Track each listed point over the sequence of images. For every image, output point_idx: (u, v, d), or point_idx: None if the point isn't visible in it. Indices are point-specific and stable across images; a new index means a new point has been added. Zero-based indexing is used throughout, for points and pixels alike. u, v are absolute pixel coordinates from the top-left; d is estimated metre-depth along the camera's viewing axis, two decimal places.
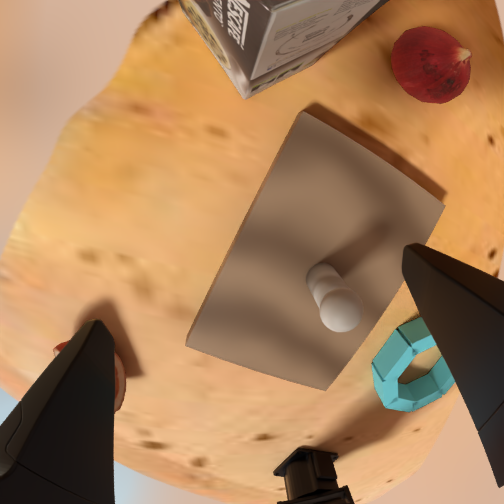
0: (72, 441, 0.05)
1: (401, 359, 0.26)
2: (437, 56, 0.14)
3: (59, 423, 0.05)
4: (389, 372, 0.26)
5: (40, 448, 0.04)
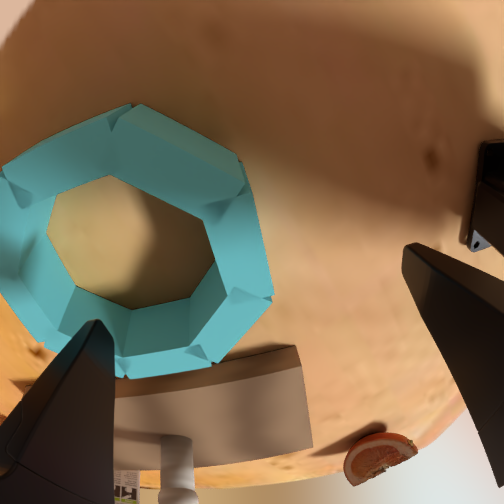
0: (72, 441, 0.05)
1: (156, 371, 0.13)
2: None
3: (59, 423, 0.05)
4: (190, 369, 0.13)
5: (40, 448, 0.04)
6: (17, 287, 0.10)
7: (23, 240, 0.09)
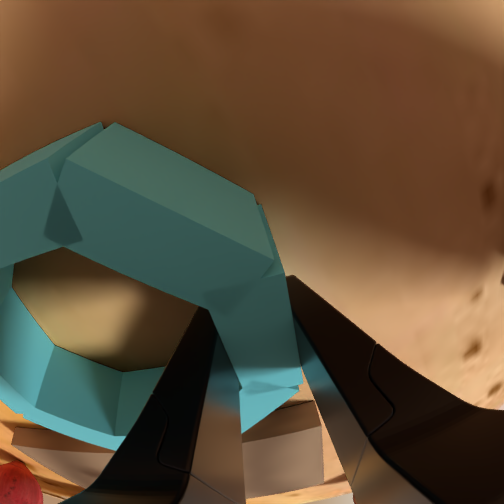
0: (222, 433, 0.05)
1: None
2: None
3: (213, 413, 0.05)
4: None
5: (202, 448, 0.04)
6: None
7: None
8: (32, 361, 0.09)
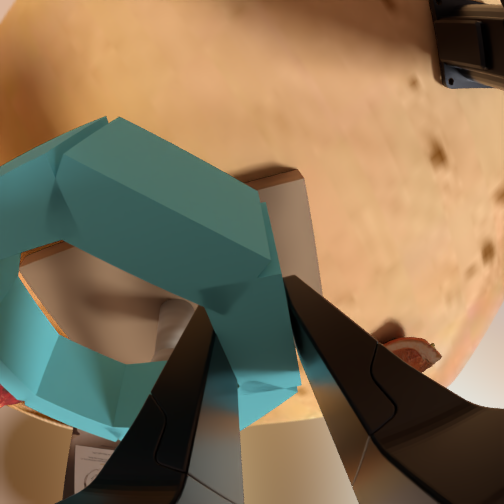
0: (220, 433, 0.05)
1: None
2: (13, 403, 0.19)
3: (211, 413, 0.05)
4: None
5: (200, 448, 0.04)
6: None
7: None
8: (35, 350, 0.09)
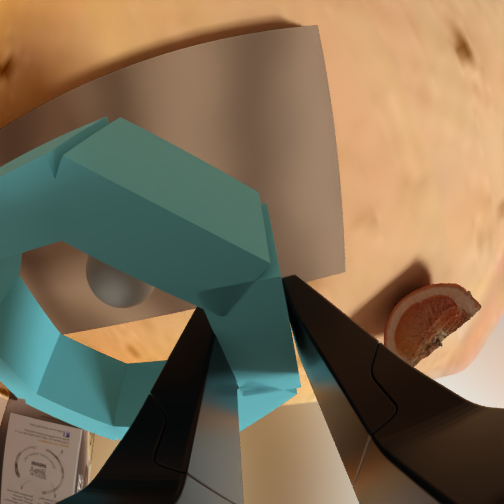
0: (219, 433, 0.05)
1: None
2: None
3: (210, 413, 0.05)
4: None
5: (199, 448, 0.04)
6: None
7: None
8: (36, 348, 0.09)
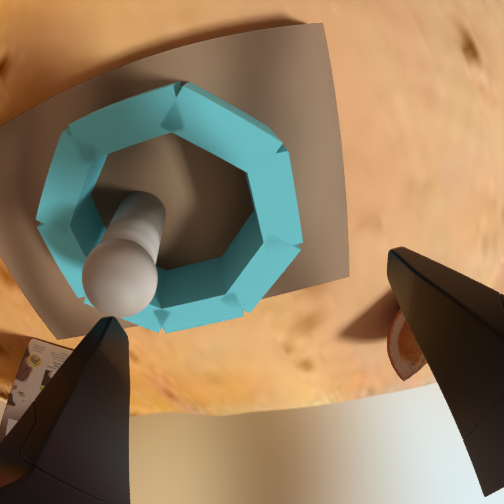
0: (88, 442, 0.05)
1: (191, 323, 0.15)
2: None
3: (75, 423, 0.05)
4: (224, 319, 0.15)
5: (56, 450, 0.04)
6: (66, 239, 0.12)
7: (80, 192, 0.11)
8: None
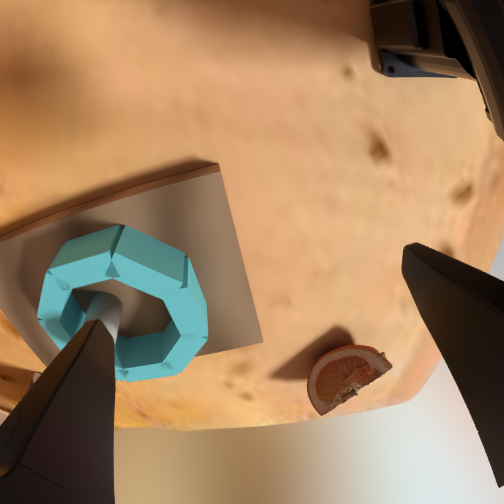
0: (72, 441, 0.05)
1: (143, 377, 0.21)
2: None
3: (59, 423, 0.05)
4: (164, 376, 0.21)
5: (40, 448, 0.04)
6: (58, 329, 0.18)
7: (63, 305, 0.17)
8: None
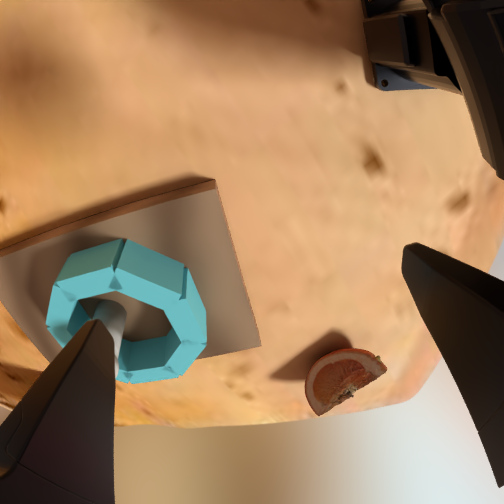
0: (72, 441, 0.05)
1: (147, 379, 0.22)
2: None
3: (59, 423, 0.05)
4: (166, 378, 0.22)
5: (40, 448, 0.04)
6: (66, 335, 0.19)
7: (70, 314, 0.18)
8: None
